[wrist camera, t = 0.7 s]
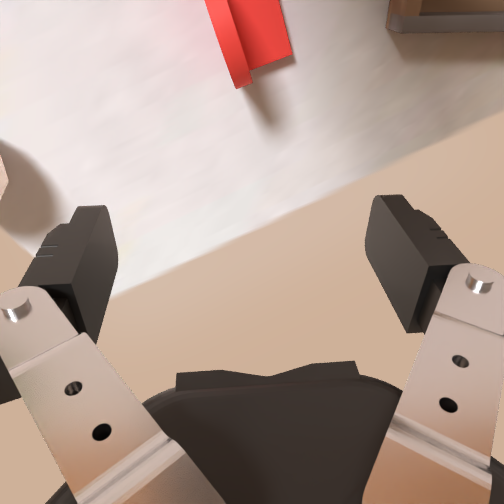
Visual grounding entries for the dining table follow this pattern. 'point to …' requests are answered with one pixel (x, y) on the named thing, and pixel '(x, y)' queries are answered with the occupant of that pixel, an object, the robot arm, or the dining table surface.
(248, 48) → the bracket
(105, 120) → the dining table surface
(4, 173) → the geometric ball
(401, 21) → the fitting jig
